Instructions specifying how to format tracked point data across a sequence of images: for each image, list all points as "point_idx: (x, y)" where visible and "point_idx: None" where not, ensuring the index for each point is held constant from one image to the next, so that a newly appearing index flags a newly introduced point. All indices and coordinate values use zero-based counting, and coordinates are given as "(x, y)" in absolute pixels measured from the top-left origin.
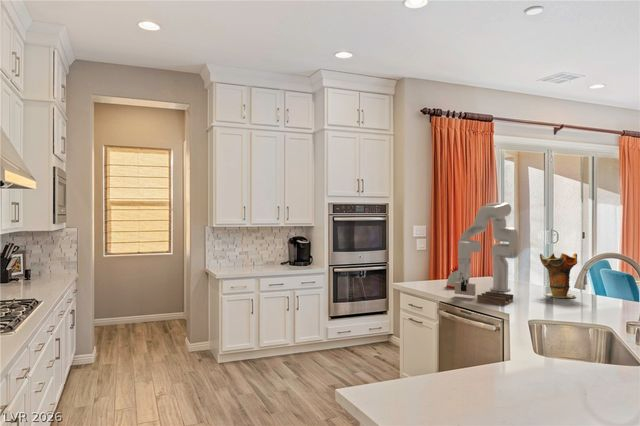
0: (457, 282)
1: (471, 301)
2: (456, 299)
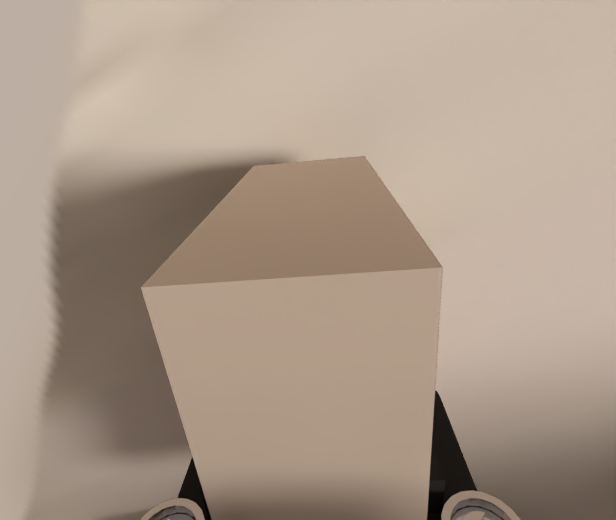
0: (236, 397)
1: (140, 463)
2: (75, 293)
